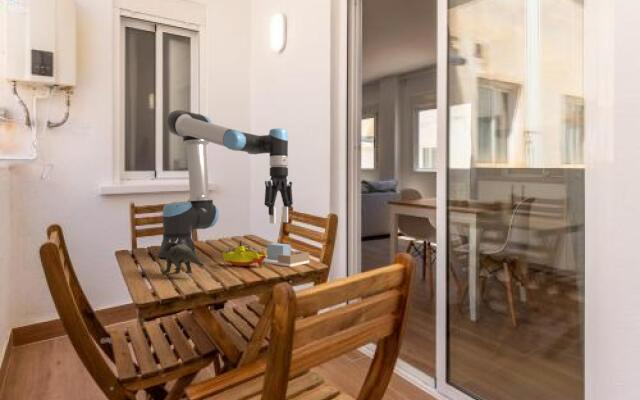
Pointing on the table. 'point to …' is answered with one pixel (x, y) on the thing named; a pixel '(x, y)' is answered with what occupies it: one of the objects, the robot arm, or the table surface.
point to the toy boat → (244, 256)
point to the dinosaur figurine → (179, 256)
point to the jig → (282, 257)
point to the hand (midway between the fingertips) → (279, 222)
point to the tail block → (277, 250)
